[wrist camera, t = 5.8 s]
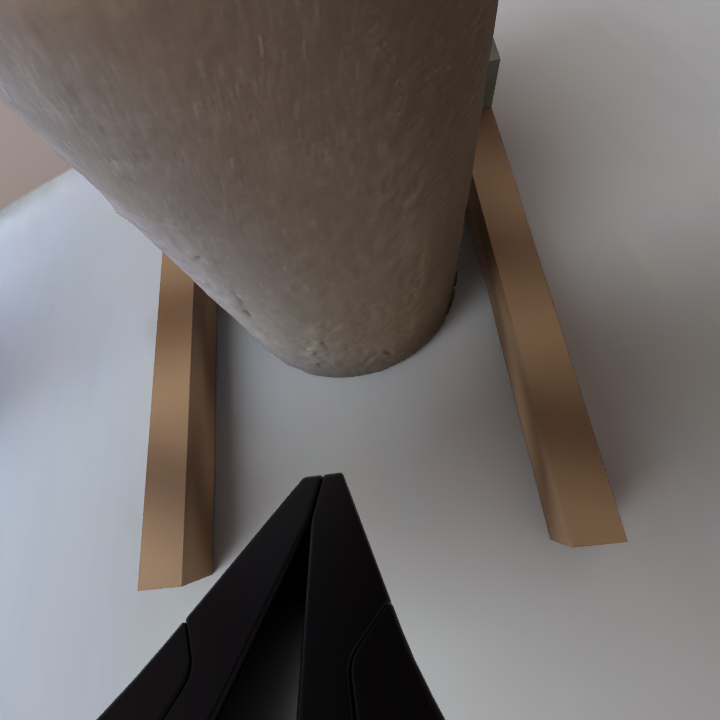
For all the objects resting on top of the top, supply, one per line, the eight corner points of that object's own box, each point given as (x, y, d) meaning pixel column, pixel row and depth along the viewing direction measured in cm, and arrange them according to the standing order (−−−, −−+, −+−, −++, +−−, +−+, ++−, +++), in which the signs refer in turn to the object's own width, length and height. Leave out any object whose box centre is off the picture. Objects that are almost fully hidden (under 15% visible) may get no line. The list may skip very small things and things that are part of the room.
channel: (597, 534, 13) (670, 552, 9) (174, 578, 14) (88, 608, 11) (477, 122, 19) (491, 33, 15) (192, 181, 21) (142, 113, 17)
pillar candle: (482, 213, 18) (718, -903, 4) (414, 414, 15) (298, -721, 1) (294, 176, 20) (-6, -567, 6) (207, 344, 17) (-656, -268, 3)
